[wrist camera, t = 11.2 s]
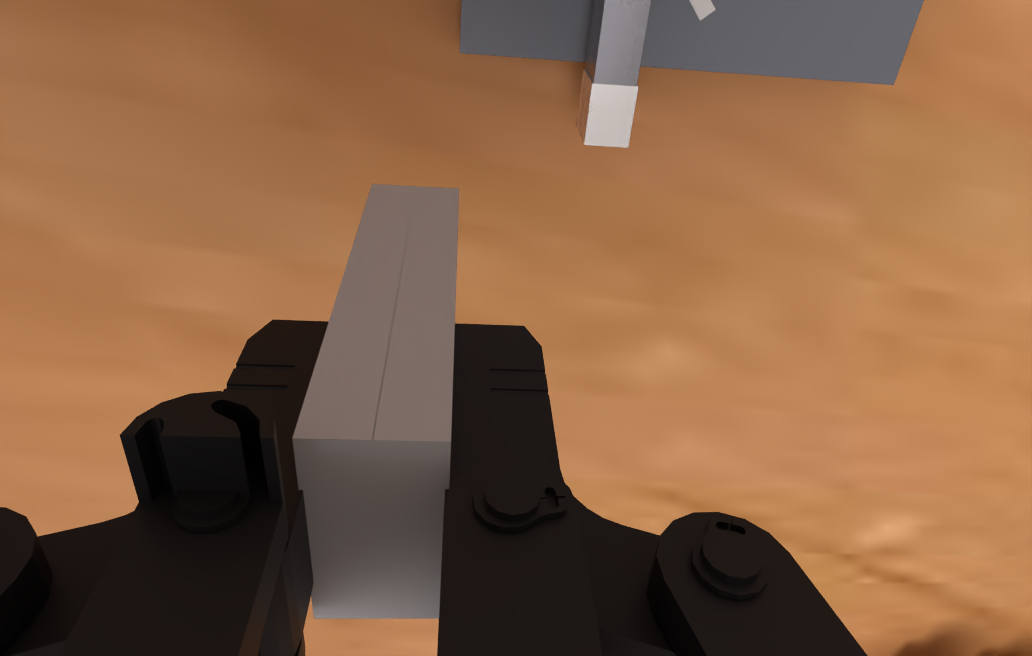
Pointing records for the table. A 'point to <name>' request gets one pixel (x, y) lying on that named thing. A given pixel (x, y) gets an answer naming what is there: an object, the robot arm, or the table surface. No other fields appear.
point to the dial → (612, 72)
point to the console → (713, 35)
